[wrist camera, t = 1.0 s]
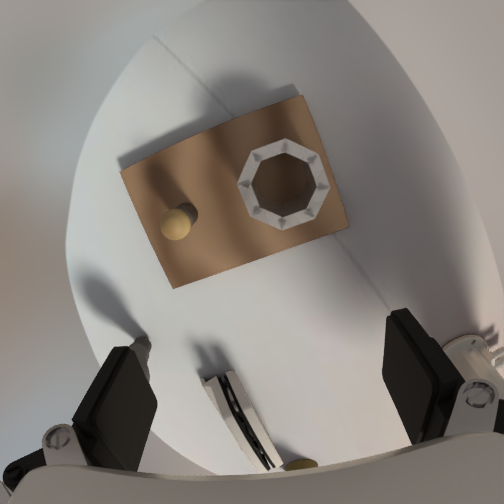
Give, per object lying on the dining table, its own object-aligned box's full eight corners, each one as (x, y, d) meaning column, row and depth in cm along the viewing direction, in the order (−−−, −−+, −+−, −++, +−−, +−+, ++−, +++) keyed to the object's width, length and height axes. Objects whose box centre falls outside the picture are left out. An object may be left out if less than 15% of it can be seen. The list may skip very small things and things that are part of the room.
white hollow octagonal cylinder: (300, 133, 29) (309, 130, 23) (324, 198, 30) (337, 210, 25) (234, 157, 30) (227, 160, 24) (259, 221, 32) (258, 238, 26)
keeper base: (301, 97, 29) (311, 83, 22) (346, 223, 33) (365, 243, 26) (125, 170, 32) (93, 177, 25) (176, 283, 36) (157, 314, 29)
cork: (321, 458, 46) (327, 508, 35) (315, 474, 48) (319, 521, 37) (287, 459, 46) (289, 510, 36) (283, 475, 48) (284, 522, 38)
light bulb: (118, 331, 38) (85, 377, 29) (148, 317, 37) (118, 365, 28) (141, 362, 40) (116, 412, 30) (173, 350, 39) (151, 403, 29)
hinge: (199, 376, 40) (212, 424, 31) (230, 362, 41) (252, 407, 32) (242, 445, 45) (260, 488, 36) (268, 434, 46) (290, 475, 36)
